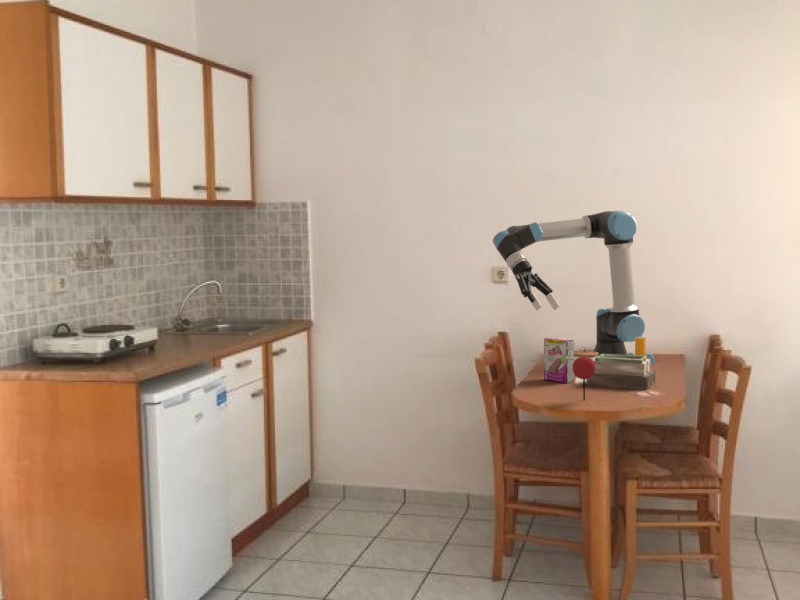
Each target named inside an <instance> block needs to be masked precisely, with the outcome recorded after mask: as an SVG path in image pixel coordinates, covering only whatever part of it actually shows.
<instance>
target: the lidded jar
mask: <svg viewBox="0 0 800 600" xmlns="http://www.w3.org/2000/svg"><path fill="white" fill-rule="evenodd" d="M598 355H599V353H598V352H594V350H587V348H583V350H578V351H577V350H574V361H575V360H576V359H577V358H579V357H588V358H591V359H592V360H595V358H596V357H598Z"/></svg>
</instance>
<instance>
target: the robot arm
mask: <svg viewBox="0 0 800 600" xmlns="http://www.w3.org/2000/svg"><path fill="white" fill-rule="evenodd" d="M637 229H638V225H637V220H636V218H635V217H634V215H633V214H631V213H629V212H627V211H623V210H612V211H610V210H608V211H601V212H598V213H594V214H589V215H583V216H582V217H581V218H576V219H575V218H574V219H566V220H557V221H549V222H540V223H538V222H531V223H529V224H523V225H511V226H509V227H508V228H507V229H505V230H501V231H499V232H498V233H496V234H495V235H494V236H493V239H492V243H493V245H494V247H495V248H496V250H497V252H498V253H499V255H500V256H501V257H502V258H503V260H504V262H505V263H506V265H507V268H509V269H510V270H511V272H512V274H513V275H514V278H515V280H516V282H517V284H518V287H519V289H520V292H521V295H522V296H523V298H525V299H526V298H527V299H528V300H529V302H530V303H531V305H532V306H533V307H534V309H535V311H539V310H540V309H541V308H542V307H543V305H542V304H541V302H540V301H539V299H538V297H537V296H536V294H535V293H534V292H532V287H533V288H535V289H537V290H538V291H539V292H540V293H542V294H543V295H544V296H545V299H546V301H547V302H548V304H549V305H550V307H551V308H552V309H553V310H554V311H556V310H557V309H558V308H560V306H561V305H560V304H559V303H558V300H557V299H556V298H555V297H554V295H553V292H554V290H553V289H552V288H551V287H550V286H549V285H548V284H547V283H546V282H545V281H544V280H543V279H542V278H541V276H539V275H538V273H537V272H536V273H534V274H533V272H532V269H533V266H532V265H531V263H530V261H529V260H527V259H528V258H527V257H526V256H525V254H524V253H523V251H522V250H524V249H525V248H527V247H529V246H531V245H534V244H535V243H539V242H547V241H556V240H564V239H572V238H583V237H584V238H585V239H603V243H604V246H605V247H606V248H607V250H608V259H609V268H610V281H611V293H612V302H613V303H612V304H613V305H612V307H610V308H609V307H608V308H600V309H598V310H597V311H596V317H595V319H596V344H595V347H594V349H593V351H594V352H598V353H599V355H601V354H618V355H627V354H628V353H627V350H626V346H625V345H626V344H625V343H632V342H633V343H635V337H643V335H644V333H645V328H646V324H645V321H644V319H643V318H642V317H641V316H640V308H639V307H638V305H636V304H635V295H634V294H635V293H634V283H633V271H632V269H633V268H632V257H631V246H632V245H633V243H634V236H635V234H636V233H637ZM531 286H532V287H531ZM599 355H598V356H599Z"/></svg>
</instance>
